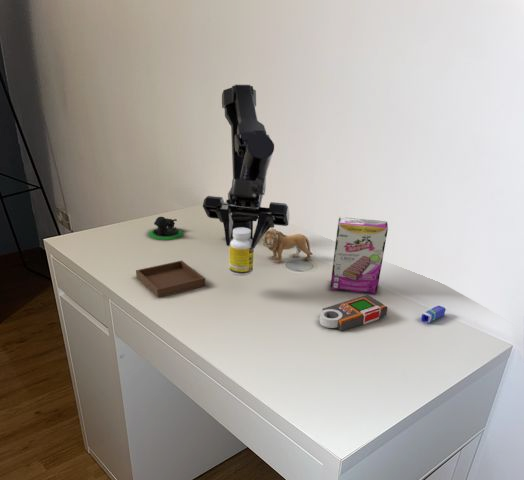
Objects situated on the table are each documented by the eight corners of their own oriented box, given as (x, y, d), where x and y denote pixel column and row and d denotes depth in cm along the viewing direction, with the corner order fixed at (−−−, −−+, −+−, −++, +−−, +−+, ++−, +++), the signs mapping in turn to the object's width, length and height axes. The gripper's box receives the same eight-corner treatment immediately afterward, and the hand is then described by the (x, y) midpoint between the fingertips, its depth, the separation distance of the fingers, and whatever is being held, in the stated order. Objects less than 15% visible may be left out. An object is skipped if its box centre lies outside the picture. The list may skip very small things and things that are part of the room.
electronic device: (313, 310, 114) (369, 292, 120) (313, 322, 116) (367, 304, 122) (332, 324, 109) (389, 305, 115) (331, 336, 111) (387, 317, 117)
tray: (182, 267, 136) (181, 260, 135) (205, 285, 128) (205, 278, 127) (136, 277, 130) (135, 270, 129) (157, 297, 122) (157, 289, 121)
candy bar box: (329, 290, 128) (337, 223, 119) (330, 281, 132) (337, 216, 123) (377, 295, 127) (388, 227, 118) (377, 286, 131) (387, 220, 122)
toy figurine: (188, 229, 160) (187, 210, 156) (176, 241, 151) (175, 221, 148) (156, 226, 161) (155, 207, 158) (142, 237, 153) (140, 217, 150)
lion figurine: (266, 266, 138) (267, 233, 134) (258, 259, 143) (258, 226, 138) (316, 259, 144) (319, 226, 139) (307, 252, 148) (310, 220, 143)
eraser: (420, 320, 117) (421, 312, 116) (436, 312, 120) (438, 304, 119) (427, 324, 115) (429, 316, 114) (444, 316, 119) (446, 308, 118)
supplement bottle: (252, 277, 121) (253, 235, 115) (228, 276, 121) (228, 234, 115) (253, 267, 125) (254, 226, 120) (230, 266, 125) (230, 225, 120)
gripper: (204, 158, 115) (189, 225, 112) (290, 165, 112) (278, 235, 109) (214, 185, 126) (202, 247, 123) (294, 192, 123) (283, 256, 120)
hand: (239, 246), depth 118 cm, fingers closed on supplement bottle, 5 cm apart
